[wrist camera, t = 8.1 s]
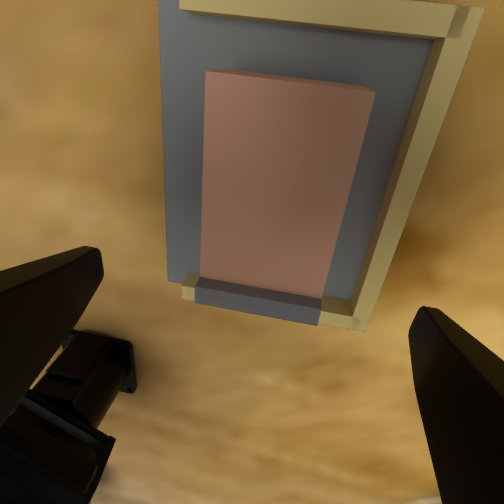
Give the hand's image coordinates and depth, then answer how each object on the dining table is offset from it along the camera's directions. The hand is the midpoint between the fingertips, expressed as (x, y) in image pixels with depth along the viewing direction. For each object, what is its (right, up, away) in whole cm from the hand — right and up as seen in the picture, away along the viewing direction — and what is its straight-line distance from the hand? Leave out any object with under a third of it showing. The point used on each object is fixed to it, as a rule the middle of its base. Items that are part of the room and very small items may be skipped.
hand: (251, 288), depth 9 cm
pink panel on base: (+1, +5, +9) cm, 10 cm away
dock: (+2, +6, +10) cm, 12 cm away
